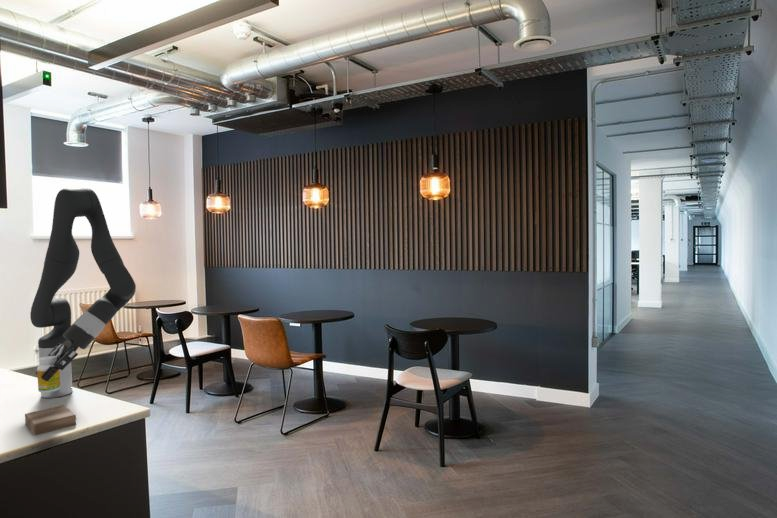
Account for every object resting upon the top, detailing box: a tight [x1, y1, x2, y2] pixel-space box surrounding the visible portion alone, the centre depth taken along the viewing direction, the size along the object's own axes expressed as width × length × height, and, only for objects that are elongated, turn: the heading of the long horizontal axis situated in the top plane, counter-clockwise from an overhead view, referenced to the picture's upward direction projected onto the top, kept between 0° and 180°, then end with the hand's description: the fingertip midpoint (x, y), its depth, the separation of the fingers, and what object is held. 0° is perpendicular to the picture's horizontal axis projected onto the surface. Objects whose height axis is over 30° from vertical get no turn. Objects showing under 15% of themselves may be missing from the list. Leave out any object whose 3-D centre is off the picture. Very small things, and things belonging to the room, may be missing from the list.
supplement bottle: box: [36, 356, 60, 394], centre depth 148 cm, size 5×5×10 cm
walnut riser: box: [24, 404, 77, 436], centre depth 149 cm, size 12×10×3 cm
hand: (41, 377), depth 147 cm, fingers closed on supplement bottle, 5 cm apart
